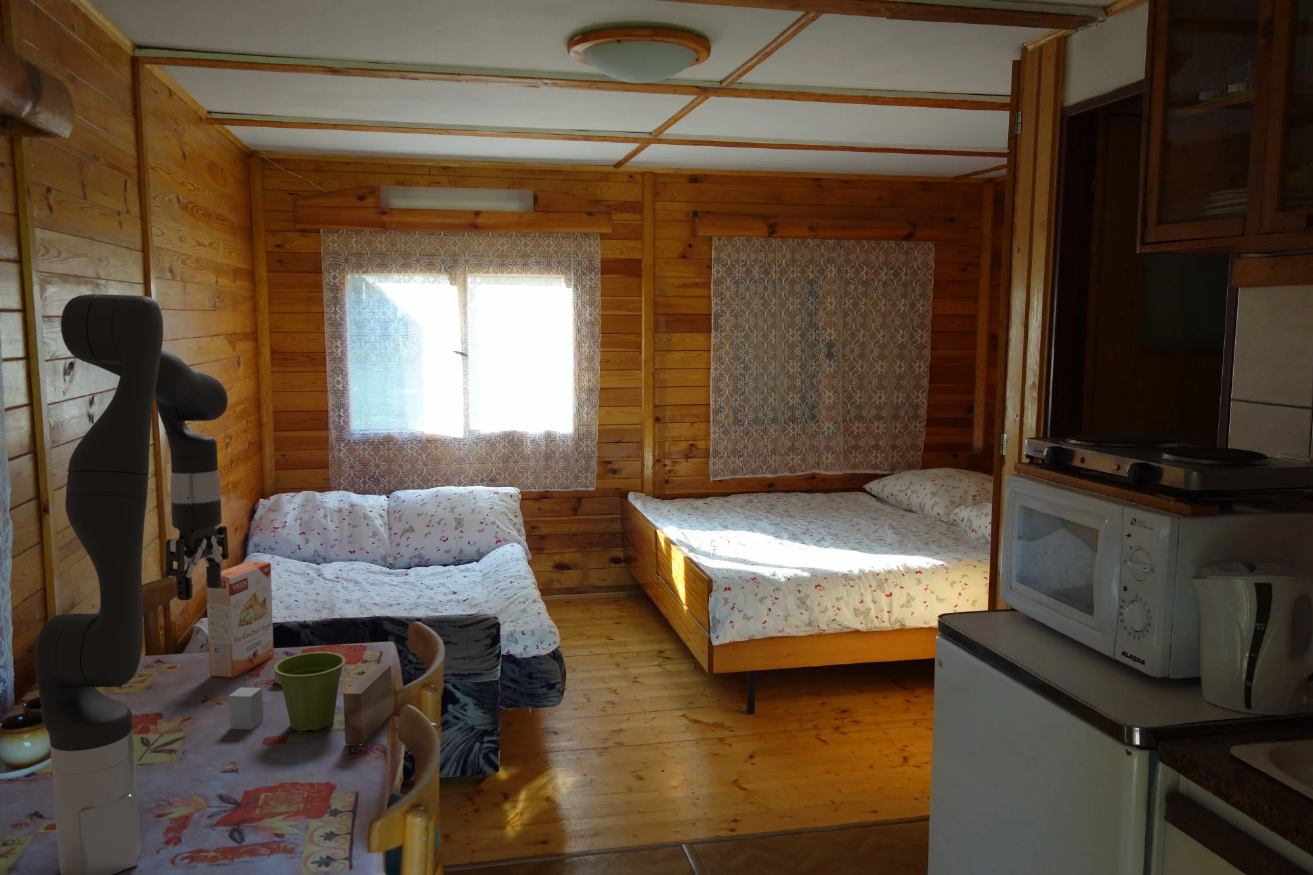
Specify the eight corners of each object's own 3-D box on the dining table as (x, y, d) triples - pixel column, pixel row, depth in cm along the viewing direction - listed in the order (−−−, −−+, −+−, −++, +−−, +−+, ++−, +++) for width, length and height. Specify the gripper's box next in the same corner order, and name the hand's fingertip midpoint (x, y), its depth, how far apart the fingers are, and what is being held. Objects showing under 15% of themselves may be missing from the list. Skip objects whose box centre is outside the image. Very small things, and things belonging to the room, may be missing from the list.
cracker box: (235, 679, 190) (229, 577, 188) (208, 677, 191) (203, 576, 189) (276, 656, 204) (271, 561, 201) (251, 654, 205) (246, 559, 203)
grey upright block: (252, 729, 166) (250, 696, 165) (230, 728, 166) (228, 695, 166) (263, 720, 170) (261, 687, 169) (242, 719, 170) (240, 687, 170)
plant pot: (262, 735, 163) (259, 672, 162) (300, 709, 175) (297, 650, 174) (326, 740, 161) (323, 676, 160) (359, 713, 173) (357, 653, 171)
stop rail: (345, 744, 159) (343, 693, 158) (376, 711, 173) (375, 664, 172) (362, 745, 159) (360, 693, 158) (392, 712, 173) (391, 664, 172)
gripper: (192, 504, 151) (196, 604, 152) (240, 492, 165) (243, 584, 166) (147, 504, 151) (152, 603, 153) (199, 492, 166) (203, 583, 167)
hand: (200, 593), depth 159 cm, fingers open, 8 cm apart
